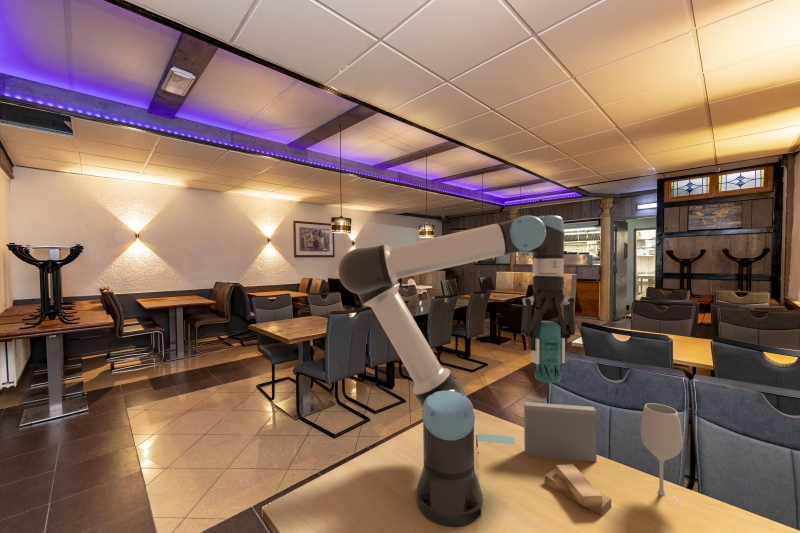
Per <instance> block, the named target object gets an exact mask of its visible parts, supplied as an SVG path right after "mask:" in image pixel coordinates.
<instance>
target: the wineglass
mask: <svg viewBox="0 0 800 533" xmlns="http://www.w3.org/2000/svg"><path fill="white" fill-rule="evenodd" d="M640 438H641V441H642V443H643V445H644V446H645V448H646V449H647V450H648V451H649V452H650V453H651V454H652V455H653V456H654V457H655V458H656V459H657V460H658V466H659V470H658V472H659V473H658V474H659V477H658V478H659V483H658V484H659V488H658V490H657V491H656V493H657V494H658V495H659V496H660V497H661V496H662V497H667V494H666V493H665V490H664V464H665V461H667V460H671V459H672V458H675V457H676V456H678V455H679V454H680V453H681V451H682V449H683V444H684V440H683V439H684V438H683V430H682V425H681V421H680V417H679V413H678V410H676V409H675V408H674V407H671V406H668V405H665V404H662V403H653V402H651V403H645V404H644V406H643V410H642V415H641V422H640ZM671 496H672V497H673V498H674V499H675V501H676V502H677V503H678V504H679V505H680V506H681V507H683V504H682V502H681V501H680V499H679V498H677V496H675V495H674V494H671Z"/></svg>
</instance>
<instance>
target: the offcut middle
mask: <svg viewBox="0 0 800 533" xmlns="http://www.w3.org/2000/svg"><path fill="white" fill-rule="evenodd" d="M544 484H545V485H548V486H549V487H551V489H554V490H556V491H557V492H560V493H561V494H563V495H564V496H566V497H568V498H570V499H571V500H573V501H575V502H577V503H578V504H579V505H582V504H581V503H580V501H579V500H578V499H577V498H576V496H575V495H574V494H573V493H572V492H571V490H570V489H569V488H568V487H567V486H566V484H565V483H564V482H563V481H562V479H561V478H560V477H559V476H558V475H557V473H556V468H554V469H552V470H550V471H549V472H547V473H546V474H544ZM599 493H600V494H601V495H602V504H603V505H592V506H584V507H585V508H587V509H588V510H590V511H591V512H594V513H595V514H597V515H599V516H600V517H603V515H605V514H606V513H607V512H608V511H610V509H611V508H612V498H610V497H609V496H606V495H605V494H603V493H601V492H599ZM582 506H583V505H582Z"/></svg>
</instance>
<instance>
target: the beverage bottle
mask: <svg viewBox="0 0 800 533" xmlns="http://www.w3.org/2000/svg"><path fill="white" fill-rule="evenodd" d="M543 318H544V319H554V318H557V314H556V310H546V312H545V314H544V315H543ZM543 318H542V319H543ZM536 338H538V339H539V364H535V363H534V373H533V375H534V377H535V379H536V380H537V381H539V382H543V383H548V384H556V383H557V384H558V383H559V382H560V381H561V378H562V363H561V326H560V325H559V324H558V323H556V322H555V321H552V320H551V321H550V320H542V321H541V324H540V327H539V331H538V334H537V337H536Z"/></svg>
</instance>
